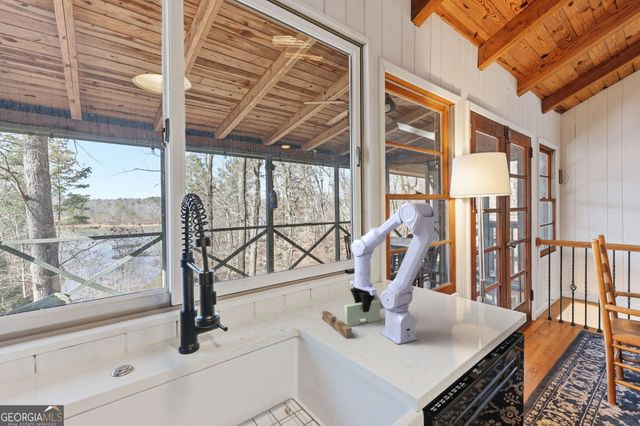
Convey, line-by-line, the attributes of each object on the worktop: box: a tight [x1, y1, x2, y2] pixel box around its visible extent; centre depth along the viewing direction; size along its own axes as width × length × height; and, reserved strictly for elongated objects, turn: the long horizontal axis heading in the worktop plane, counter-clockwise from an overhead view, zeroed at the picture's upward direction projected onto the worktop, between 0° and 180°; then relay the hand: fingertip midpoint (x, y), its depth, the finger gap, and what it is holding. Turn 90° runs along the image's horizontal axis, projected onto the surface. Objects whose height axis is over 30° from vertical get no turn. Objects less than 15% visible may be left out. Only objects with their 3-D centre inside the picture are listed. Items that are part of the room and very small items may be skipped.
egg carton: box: [372, 294, 383, 310], centre depth 124 cm, size 11×8×4 cm
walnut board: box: [321, 310, 353, 339], centre depth 102 cm, size 18×2×3 cm, turn 25°
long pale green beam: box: [343, 300, 381, 327], centre depth 107 cm, size 14×2×7 cm, turn 115°
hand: (362, 309), depth 107 cm, fingers open, 4 cm apart
